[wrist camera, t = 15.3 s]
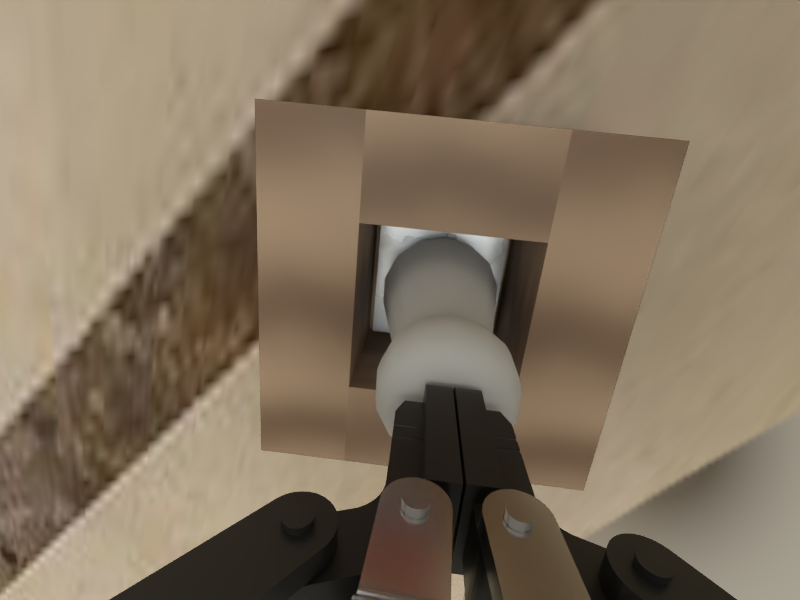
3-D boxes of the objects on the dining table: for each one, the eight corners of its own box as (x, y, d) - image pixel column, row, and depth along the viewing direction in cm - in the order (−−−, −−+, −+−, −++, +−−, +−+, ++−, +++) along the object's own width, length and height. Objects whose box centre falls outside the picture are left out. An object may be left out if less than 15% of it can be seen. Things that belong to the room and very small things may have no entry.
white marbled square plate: (383, 210, 23) (381, 212, 23) (507, 223, 23) (511, 226, 22) (374, 324, 26) (372, 330, 25) (487, 337, 26) (489, 344, 25)
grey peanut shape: (483, 332, 24) (537, 509, 12) (386, 324, 25) (342, 490, 12) (496, 233, 22) (576, 323, 10) (391, 225, 23) (345, 305, 10)
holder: (312, 117, 23) (254, 98, 16) (602, 146, 23) (689, 141, 15) (306, 372, 28) (261, 450, 21) (541, 400, 28) (583, 490, 20)
